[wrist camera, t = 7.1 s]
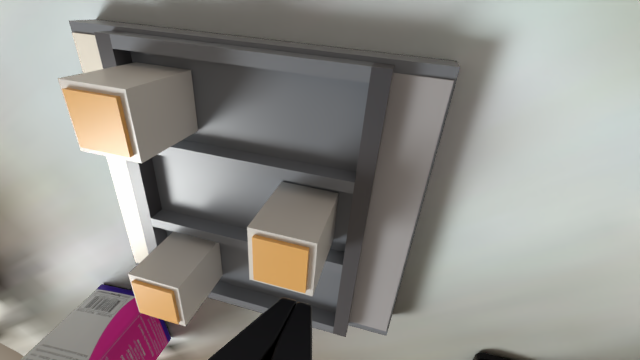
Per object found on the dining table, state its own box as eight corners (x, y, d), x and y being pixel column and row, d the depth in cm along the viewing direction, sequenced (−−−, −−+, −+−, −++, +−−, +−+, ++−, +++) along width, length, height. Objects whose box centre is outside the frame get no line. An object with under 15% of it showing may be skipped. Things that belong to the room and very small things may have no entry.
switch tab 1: (190, 70, 15) (121, 90, 12) (198, 130, 17) (138, 165, 13) (135, 62, 16) (53, 79, 12) (147, 121, 17) (76, 152, 14)
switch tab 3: (338, 193, 16) (316, 246, 13) (333, 240, 18) (311, 299, 14) (281, 181, 17) (244, 229, 13) (281, 228, 18) (247, 282, 15)
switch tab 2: (219, 239, 20) (175, 291, 16) (222, 275, 21) (183, 329, 18) (175, 229, 21) (125, 276, 17) (182, 264, 22) (136, 314, 18)
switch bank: (456, 61, 14) (463, 71, 11) (388, 315, 21) (384, 350, 19) (95, 19, 17) (48, 21, 15) (151, 252, 25) (126, 275, 23)
